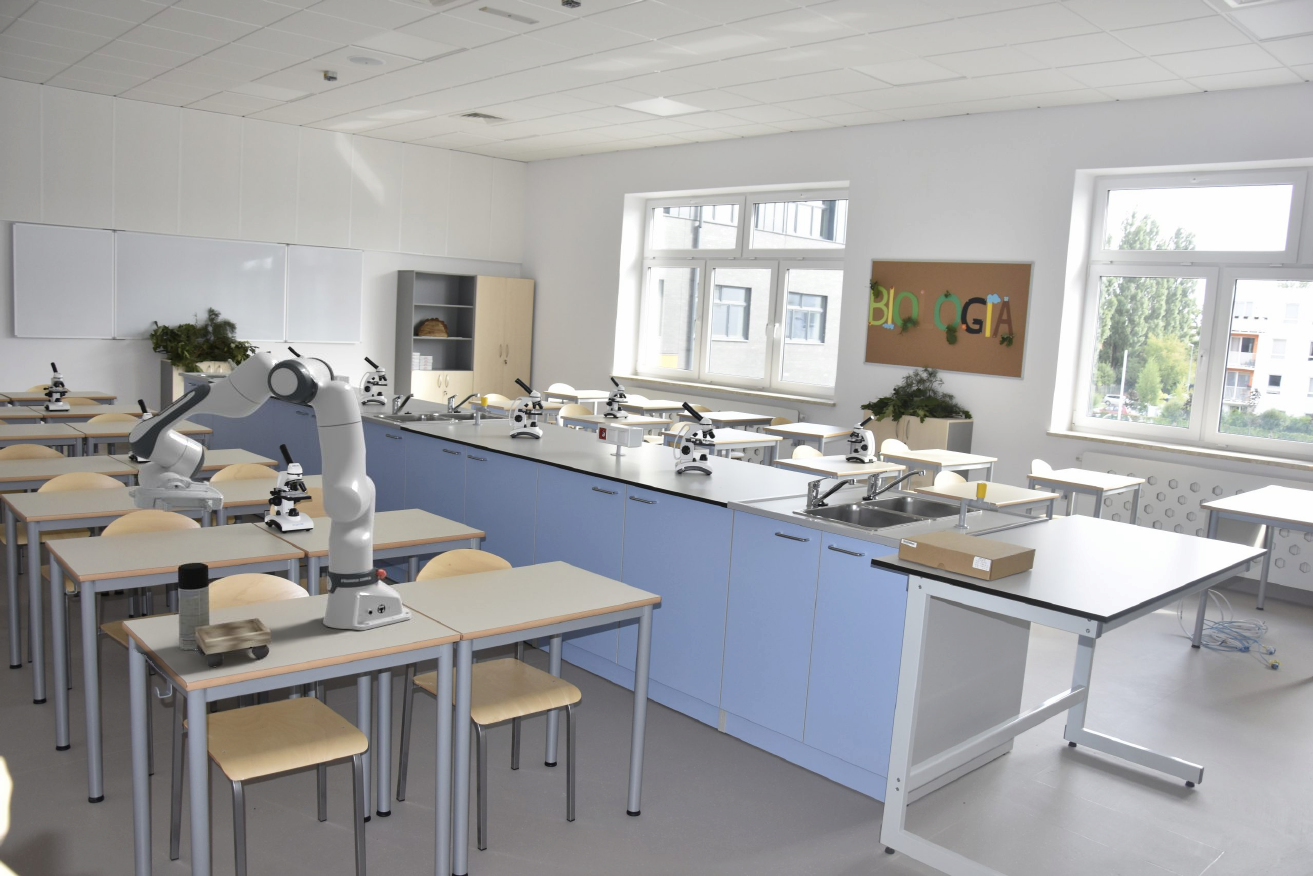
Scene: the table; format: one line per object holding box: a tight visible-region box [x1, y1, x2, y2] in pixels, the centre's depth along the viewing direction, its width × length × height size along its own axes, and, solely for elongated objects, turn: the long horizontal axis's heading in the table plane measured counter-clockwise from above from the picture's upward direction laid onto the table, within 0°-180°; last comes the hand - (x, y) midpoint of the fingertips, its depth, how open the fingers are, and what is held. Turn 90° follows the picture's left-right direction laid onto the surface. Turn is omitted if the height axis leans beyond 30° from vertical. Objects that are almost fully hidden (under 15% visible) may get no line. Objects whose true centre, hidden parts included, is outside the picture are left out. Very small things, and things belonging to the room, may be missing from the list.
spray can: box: [177, 562, 210, 651], centre depth 228 cm, size 7×7×20 cm
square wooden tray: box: [195, 617, 272, 668], centre depth 223 cm, size 14×12×6 cm
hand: (189, 508), depth 233 cm, fingers open, 8 cm apart
